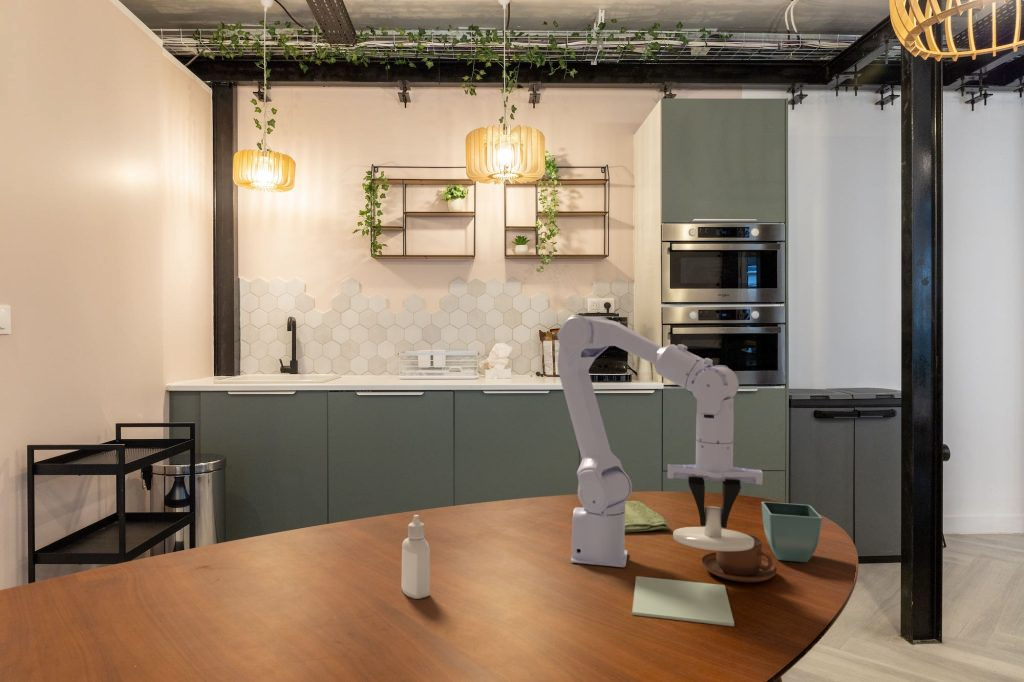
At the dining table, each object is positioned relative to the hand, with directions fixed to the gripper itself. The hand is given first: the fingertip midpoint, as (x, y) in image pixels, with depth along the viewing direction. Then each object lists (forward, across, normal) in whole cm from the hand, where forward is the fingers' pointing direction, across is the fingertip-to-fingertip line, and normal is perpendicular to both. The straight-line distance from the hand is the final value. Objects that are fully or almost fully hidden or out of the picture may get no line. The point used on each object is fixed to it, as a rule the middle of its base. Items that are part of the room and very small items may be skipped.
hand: (713, 525), depth 102 cm
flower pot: (+10, +15, +18) cm, 26 cm away
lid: (+2, 0, 0) cm, 2 cm away
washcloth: (+11, -16, +33) cm, 38 cm away
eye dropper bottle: (+10, -45, -16) cm, 49 cm away
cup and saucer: (+10, +5, +7) cm, 13 cm away
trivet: (+10, -5, -7) cm, 13 cm away
